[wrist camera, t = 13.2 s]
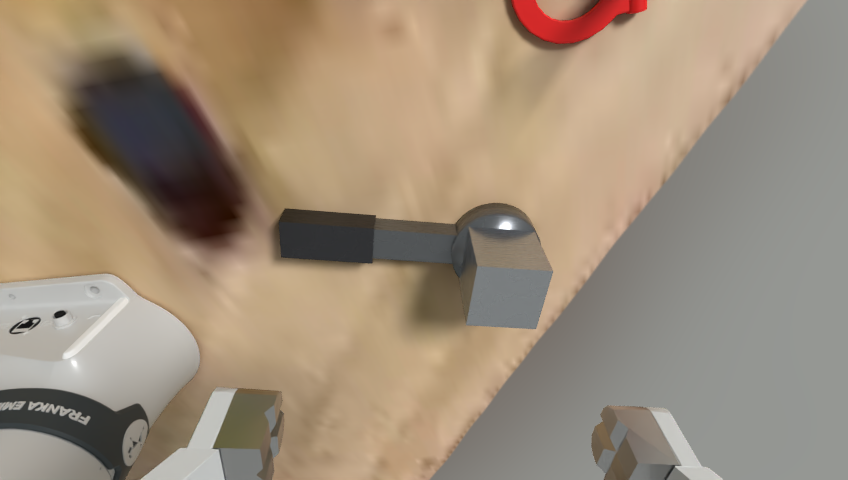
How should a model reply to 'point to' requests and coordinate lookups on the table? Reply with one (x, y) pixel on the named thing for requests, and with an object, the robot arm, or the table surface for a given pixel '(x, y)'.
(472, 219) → the ratchet
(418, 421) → the table surface
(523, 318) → the grey wooden cube
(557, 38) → the tow hook
